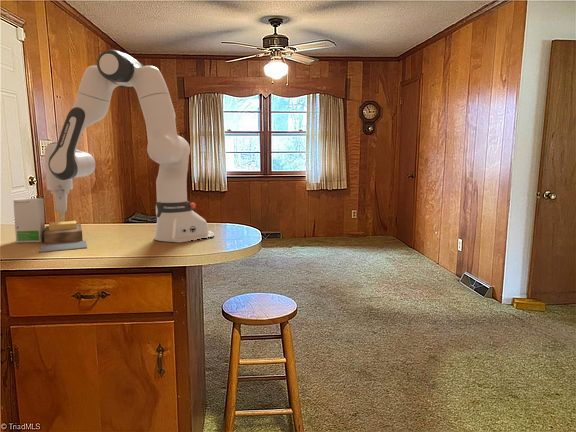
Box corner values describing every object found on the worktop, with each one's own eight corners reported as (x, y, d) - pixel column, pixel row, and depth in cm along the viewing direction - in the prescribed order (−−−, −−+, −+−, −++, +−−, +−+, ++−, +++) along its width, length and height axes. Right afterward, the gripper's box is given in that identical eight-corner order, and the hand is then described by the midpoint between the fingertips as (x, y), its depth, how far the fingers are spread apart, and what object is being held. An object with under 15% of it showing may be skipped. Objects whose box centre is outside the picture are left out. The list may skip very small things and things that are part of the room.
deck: (81, 233, 164) (80, 223, 163) (82, 241, 150) (81, 230, 149) (46, 236, 158) (45, 226, 158) (44, 245, 144) (43, 233, 144)
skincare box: (15, 243, 147) (11, 200, 144) (21, 239, 153) (17, 197, 150) (42, 242, 149) (38, 199, 146) (47, 238, 155) (43, 197, 153)
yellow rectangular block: (76, 225, 159) (76, 220, 159) (77, 228, 154) (76, 223, 153) (49, 227, 155) (49, 222, 154) (49, 230, 150) (48, 225, 149)
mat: (85, 241, 150) (85, 240, 150) (87, 248, 140) (87, 246, 140) (41, 245, 143) (41, 244, 143) (39, 252, 134) (39, 251, 134)
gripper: (69, 186, 151) (71, 223, 153) (69, 182, 168) (71, 215, 171) (49, 187, 148) (52, 225, 150) (51, 182, 165) (53, 216, 168)
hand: (62, 220), depth 160 cm, fingers closed
